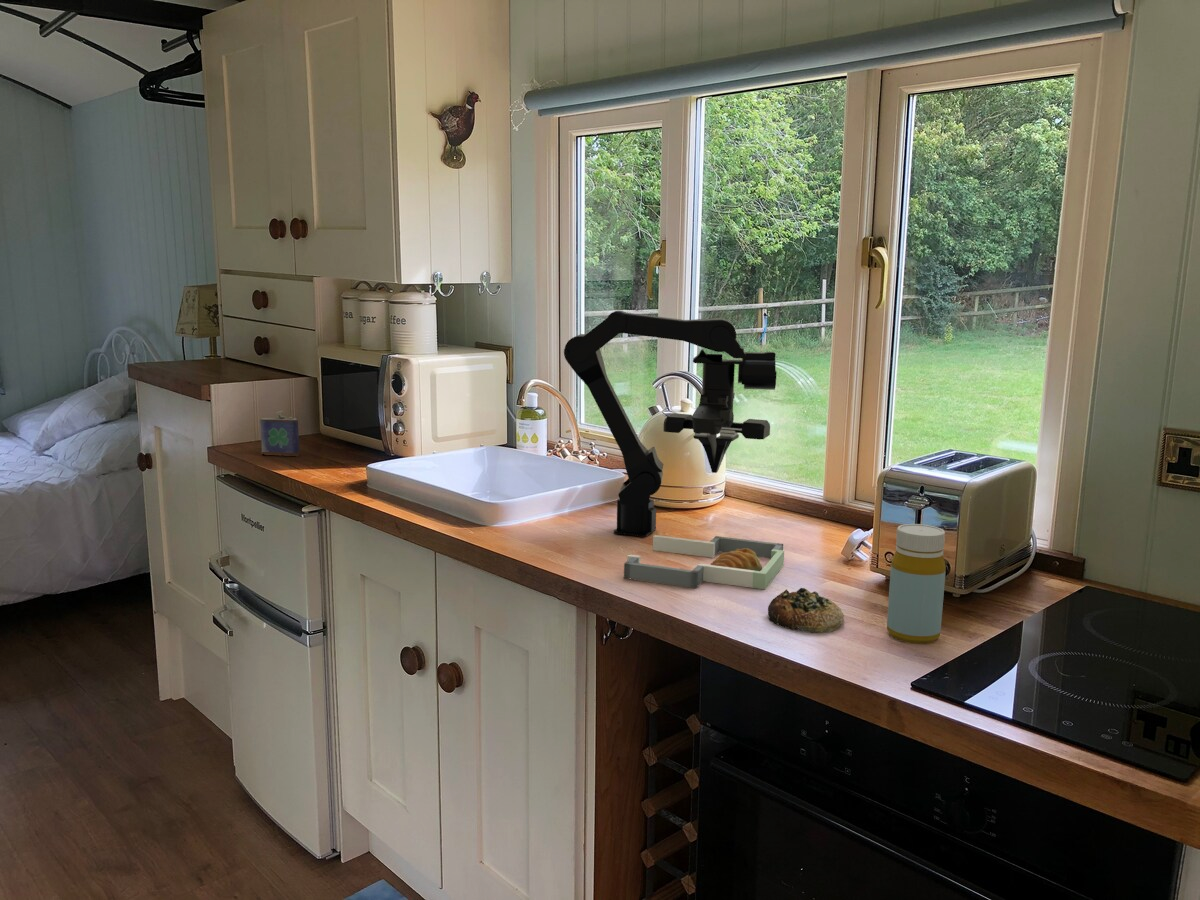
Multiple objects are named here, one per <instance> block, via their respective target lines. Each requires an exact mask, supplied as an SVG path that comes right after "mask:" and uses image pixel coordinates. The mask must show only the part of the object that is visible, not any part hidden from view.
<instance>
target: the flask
mask: <svg viewBox="0 0 1200 900" xmlns="http://www.w3.org/2000/svg"><path fill="white" fill-rule="evenodd" d="M283 412H284V411H283V410H279V411H277V412H274V414H275V415H276V417H261V418H260V421H259V423H260V435H261V437H260V439H261V440H260V441H261V442H260V443H261V453H262V452H279V453H298V452H300V451H301V450H300V447H301V446H300V437H299V436H300V435H299V420H298V419H297V418H295V417H294V418H293V417H292V416H285V414H282V413H283Z"/></svg>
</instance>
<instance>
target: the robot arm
mask: <svg viewBox="0 0 1200 900" xmlns="http://www.w3.org/2000/svg"><path fill="white" fill-rule="evenodd" d="M619 334H626V335H627V334H628V335H636V336H641V337H642V336H644V337H649V338H650V337H652V338H660V339H667V340H675V341H683V342H686V343H689V344H691V345H695V346H696V347H697V346H698V347H700V348H704V349H706V350H709V351H713V352H716V353H707V352H706V351H705V350H704V349H700V352H699V353H698V354H696V356H694V357H693V358H692V362H693V364H702V380H701V381H702V382H701V394H700V397H699V403H698V406H697V407H696V409H695V410H694V413H693V414H687V413H672V414H669V415H668V416H666V417H665V419H664V421H663V432H664V433H675V434H680V433H681V432H682V431H683V430H693V431H692V432H693V433H694V435H693V436H692V437H693V439H695V440H698V441H699V442H700V443H701V444H702V447H703V449H704V451H705V455H706V456H707V457H706V458H707V461H708V464H709V467H710V470H711V473H712V474H713V473H715V474H717V473H718V472H719V470H720V467H721V465H722V462H723V460H724V457H725V455H726V452H727V450H728V448H729V447H730V446H731V443H732V442H734V441H736V440H737V439H738V438H739V436H740V434H741V435H742V436H743V437H744V439H748V440H765V439H766V438H767V437H769V436H771V424H770V422H769V421H768V420H767V419H766V420H765V419H755V418H754V419H753V418H748V419H746V420H745V421H743V422H734V416H735V415H734V399H735V396H736V395H735V392H734V391H735V371H736V370H735V369H736V368H735V366H736V365H738V366H737V367H738V368H737V384H741V385H742V386H743V390H769V391H773V390H774V391H775V390H776V385H777V373H778V372H777V369H776V365H777V364H776V353H775V351H764V352H753V351H749V352H746V351H745V350H744V346H741V344H740V343H739V342H738V340H737V330H736V328H735V326H734V324H733V323H732V322H731V321H730V320H728V319H727V318H723V317H715V318H713V317H712V318H710V317H709V318H697V319H680V318H679V319H678V318H672V317H663V316H654V315H649V314H648V315H647V314H642V313H641V314H639V313H632V312H626V311H623V310H615V311H612V312H611V313H610V314H608V315H607V317H606V318H605V319H604V320H602V321H601V322H600V323H598V324H597V325H596V326H595V327H593V328H592V329H591V330H589V331H588V332H587V333H580V334H578V335H575V336H573V337H572V338H570V339H569V340H567V343H566V344H565V346H564V349H563V356H564V359H565V361H566V362H567V364H568V365H569V366H570V368H571V369H572V370H573V372H574V373H575V374H576V375H577V377H578V378H579V379H580V380H581V381H582V382H583V383H584V384H585V385H586V386H587V388H588V390H589V392H590V393H591V395H592V397H593V400H594V402H595V403H596V405H597V408H598V409H599V411H600V413H601V415H602V417H603V419H604V420H605V422H606V424H607V427H608V429H609V430H610V432H611V434H612V436H613V438H614V440H615V442H616V444H617V446H618V448H619V450H620V452H621V455H622V458H623V462H624V465H625V466H624V467H625V471H626V472H625V473H626V474H627V479H626V480H625V481H624V482H623V483H622V484H621V487H620V489H619V492H618V499H617V500H616V528H615V529H614V530H613V534H615V535H623V536H624V535H626V536H633V537H641V538H646V537H648V536H649V535H651V534H652V533H653V532H655V531H656V530H657V508H656V507H655V506H654V505H655V502H654V501H655V499H652V498H650V497H651V496H652V495H654V494H656V493H657V492H658V491H659V490H660V488H661V485H662V482H663V476H664V472H663V469H664V465H665V464H664V463H663V462H662V461H661V460H660V459H659V457H658V454H657V451H656V448H655V446H652V447H651V448H649V449H647V447H646V446H644V444H643V443H642V442H641V440H640V438H639V436H638V434H637V432H636V431H635V428H634V426H633V425H632V422H631V421H630V419H629V416H628V415H627V412H626V411H625V409H624V407H623V404H622V403H621V401H620V398H619V397H618V395H617V393H616V391H615V389H614V387H613V385H612V384H611V382H610V379H609V377H608V375H607V371H606V366H605V362H604V359H603V354H602V352H601V348H603V347H604V346H605V345H607V344H608V343H609V342H610V341H612V340H613V339H615V337H617V336H618V335H619ZM722 353H725V354H727V355H729V357H731V358H733V359H726V358H725V359H724V358H723V354H722ZM718 435H719V436H718Z"/></svg>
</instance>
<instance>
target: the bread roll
mask: <svg viewBox="0 0 1200 900" xmlns="http://www.w3.org/2000/svg"><path fill="white" fill-rule="evenodd" d="M767 614H768V619H769V621H770V622H772V623H773V624H775V625H778V626H780V627H782V628H786V629H790V630H793V631H794V630H797V629H796V628H798V629H799V630H800V631H802V632H808V633H820V634H821V633H830V632H832V633H833V632H834V631H835V630H836V629H838V628H839V627H840V626H841V625H842V623H843V622H844V619H845V618H844V617H845V614H844V612H843V611H842V608H841V607H840V606H839V605H838V604H836V603H835V601H832V600H831V599H829V598H826V597H824V596H821V595H819V593H818V592H817V591H813V592H810V590H808V589H807V588H805V587H800V588H799V589H798V590H797V591H791V592H789V590H788V588H786V589H785V590H784V591H783V592H780V593H779V594H778V595H776V596H775V597H774V598H773V599H772V600H770V602H769V604H768V606H767Z"/></svg>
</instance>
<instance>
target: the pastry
mask: <svg viewBox="0 0 1200 900" xmlns="http://www.w3.org/2000/svg"><path fill="white" fill-rule="evenodd" d="M709 565H715V566H723V567H731V568H738V569H746V570H754V571H762V569H763V565H762V564H761V561H760V559H759V557H757V555H756V553H755V552H754V551H752V550H750V549H748V548H743V549H736V550H735V551H730V552H726V553H725V552H722V553H721V554H720V555H719V556H718V557H717V558H716V559H714V560H713V561H712V562H711V563H710V564H709Z"/></svg>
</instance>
